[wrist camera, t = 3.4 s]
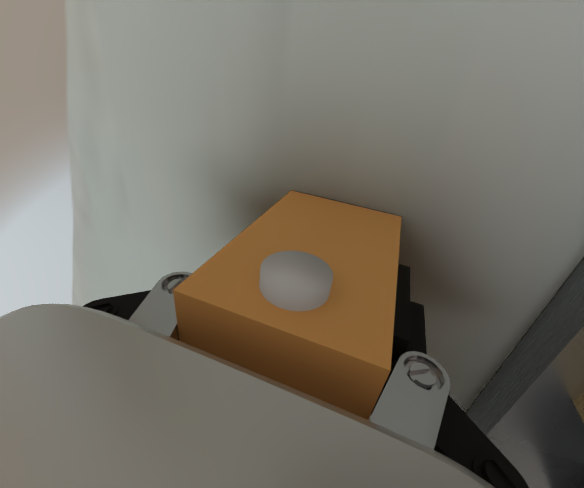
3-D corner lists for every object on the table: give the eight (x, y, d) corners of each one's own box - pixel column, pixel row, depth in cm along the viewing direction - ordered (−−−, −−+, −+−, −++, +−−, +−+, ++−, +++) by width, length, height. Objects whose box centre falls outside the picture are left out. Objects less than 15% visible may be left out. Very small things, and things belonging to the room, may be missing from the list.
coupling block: (369, 312, 15) (335, 490, 8) (280, 283, 16) (189, 418, 9) (405, 205, 12) (398, 353, 5) (292, 179, 13) (170, 272, 6)
